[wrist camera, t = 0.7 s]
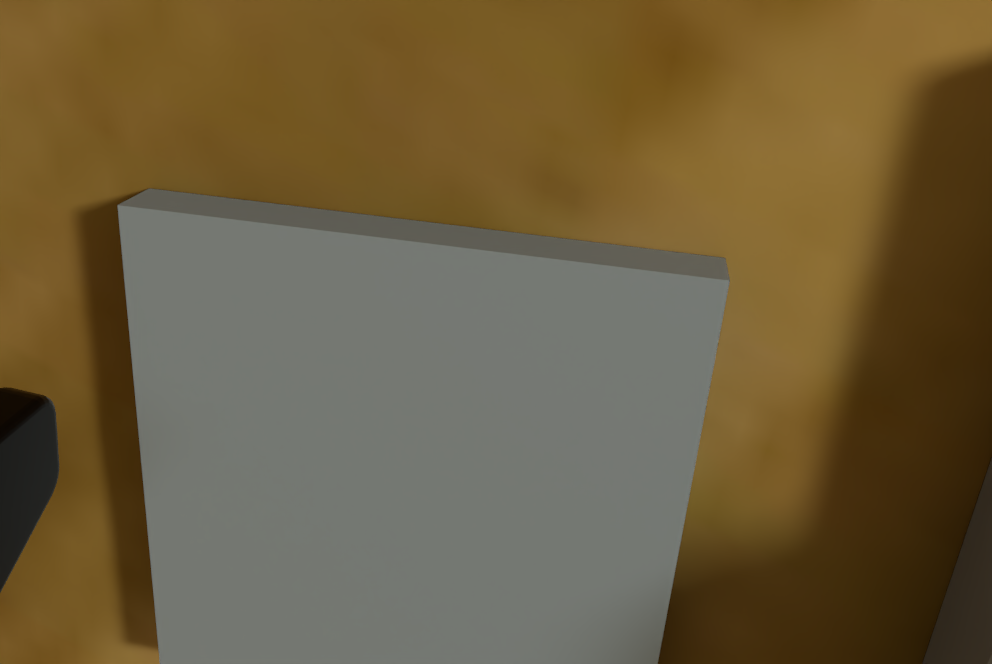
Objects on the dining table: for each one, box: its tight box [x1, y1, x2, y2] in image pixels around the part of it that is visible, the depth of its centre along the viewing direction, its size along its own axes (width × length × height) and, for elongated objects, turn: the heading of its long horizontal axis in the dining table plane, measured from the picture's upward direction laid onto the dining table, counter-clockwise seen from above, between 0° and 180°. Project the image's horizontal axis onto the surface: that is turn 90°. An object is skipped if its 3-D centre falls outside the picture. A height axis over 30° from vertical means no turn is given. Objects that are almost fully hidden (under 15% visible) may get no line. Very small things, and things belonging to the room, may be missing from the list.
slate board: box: [117, 189, 730, 664], centre depth 25 cm, size 14×14×2 cm
